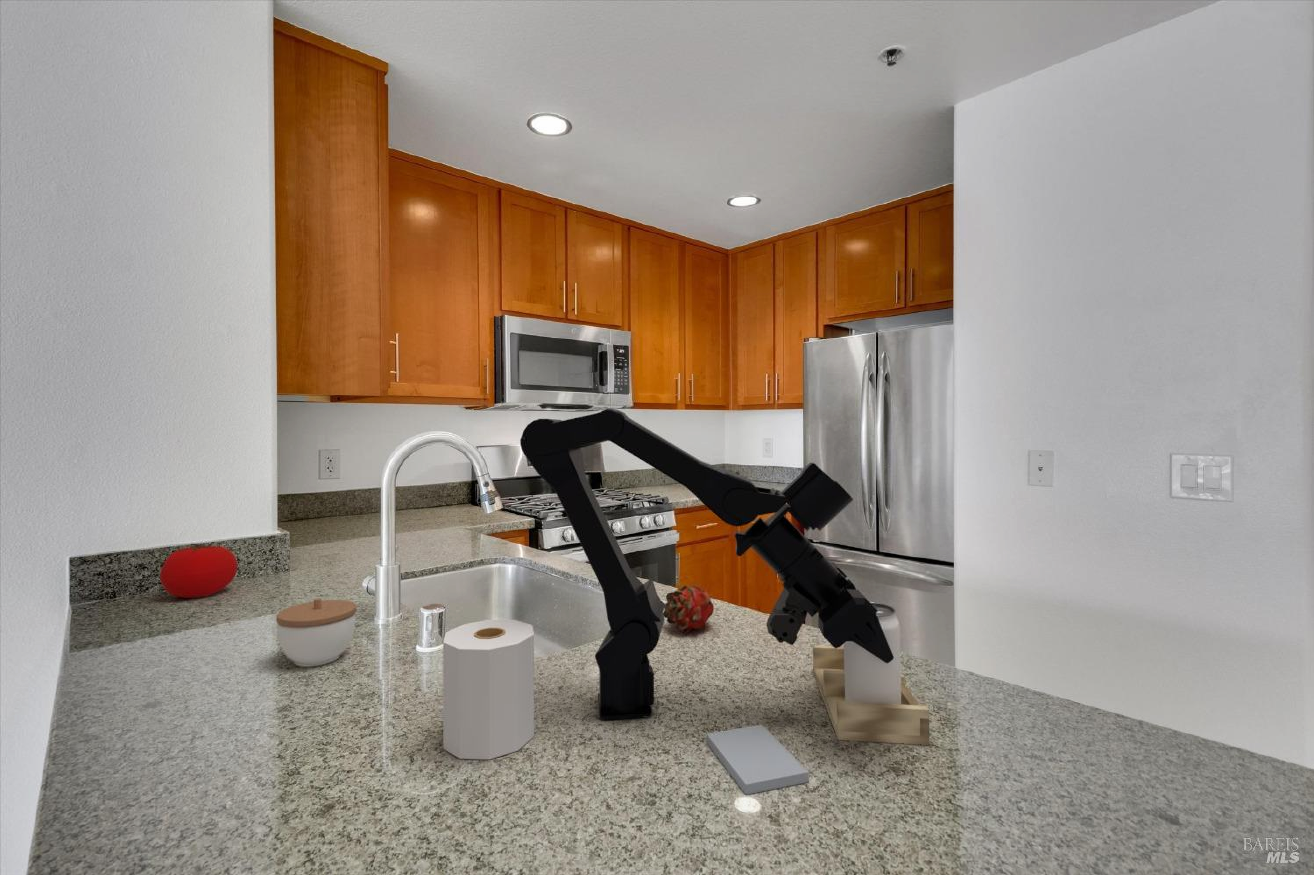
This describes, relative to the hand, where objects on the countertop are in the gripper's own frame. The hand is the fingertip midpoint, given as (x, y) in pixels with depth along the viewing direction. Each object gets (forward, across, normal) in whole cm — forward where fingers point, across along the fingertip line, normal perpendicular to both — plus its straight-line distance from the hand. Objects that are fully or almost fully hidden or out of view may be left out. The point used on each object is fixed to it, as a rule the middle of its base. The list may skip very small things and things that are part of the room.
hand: (882, 650), depth 71 cm
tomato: (-86, -40, -100) cm, 138 cm away
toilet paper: (-26, +9, -40) cm, 48 cm away
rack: (+5, -5, -7) cm, 10 cm away
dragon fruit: (-11, -32, -24) cm, 41 cm away
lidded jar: (-51, -10, -65) cm, 83 cm away
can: (+4, 0, -6) cm, 7 cm away
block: (-5, +10, -18) cm, 21 cm away
